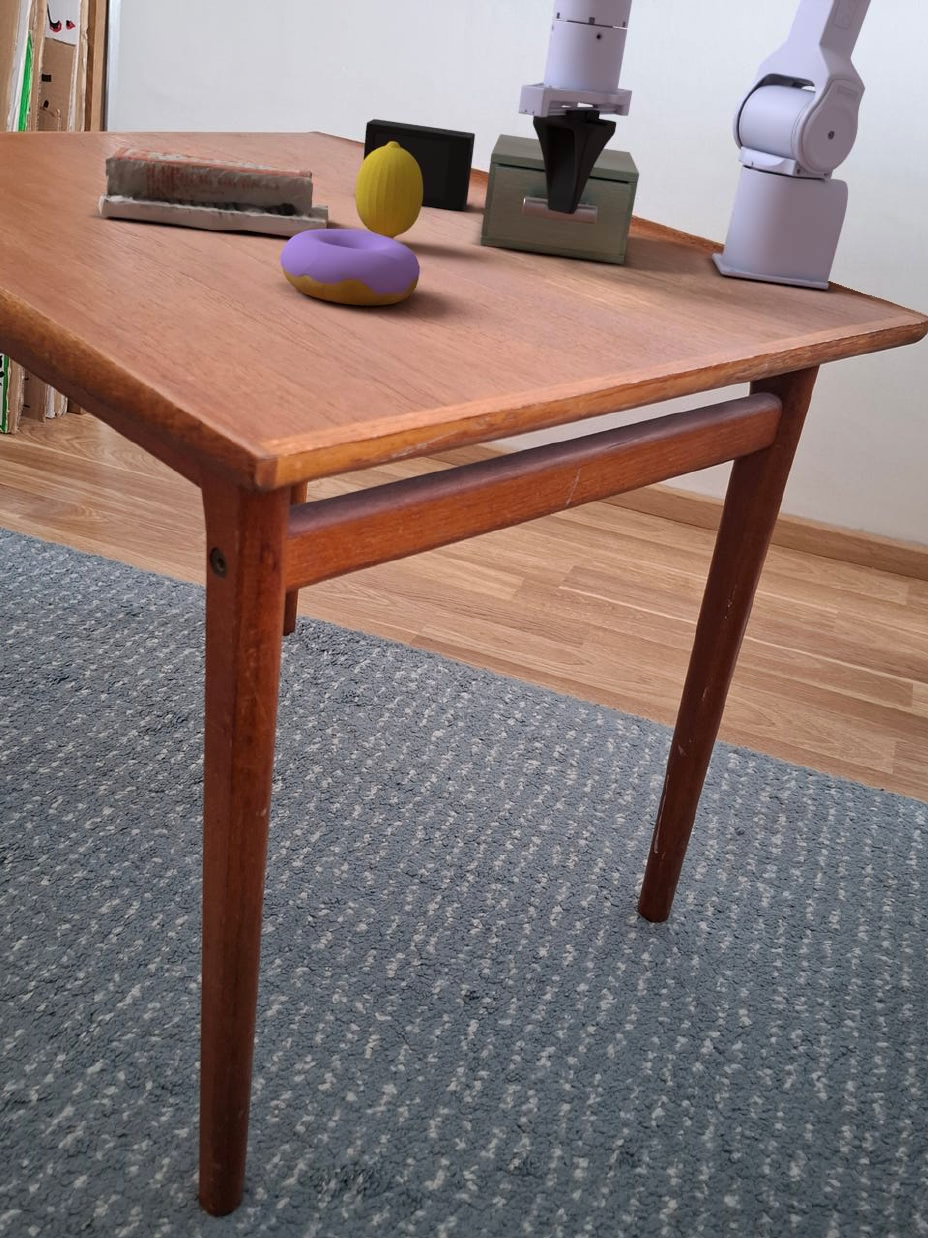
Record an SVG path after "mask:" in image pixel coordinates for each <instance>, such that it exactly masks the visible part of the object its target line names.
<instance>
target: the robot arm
mask: <svg viewBox="0 0 928 1238" xmlns="http://www.w3.org/2000/svg"><path fill="white" fill-rule="evenodd" d="M871 2H872V0H799V3H798V6H797V10H796V12H795V15H794V18H793V21H792V24H791V27H790V30H789V32H788V33H789V34H788V36H787V38H786V41H785V42H784V43H782V44H781V45H780V46H779V47H778V48H776V49H775V50H774V51H773V52H771V53H770V54H769V55H768V56H766V57H765V58H764V59H763V60H762V61H761V62H760V63H759V65H758V68H757V72H756V74H755V77H754V79H753V81H752V83H751V84H750V85H749V87H748V88H747V90H746V91H745V92H744V94H743V95H742V96H741V97H740V100H739V101H738V103H737V105H736V107H735V110H734V113H733V119H732V135H733V136H732V137H733V139H734V142H735V145H736V146H737V148H738V149H739V155H738V162H741V163H742V164H743V165H741V169H740V173H739V178H738V182H737V186H736V192H735V196H734V200H733V205H732V209H731V215H730V218H729V223H728V228H727V233H726V238H725V242H724V246H723V251H722V253H715V252H714V253H712V255H711V258H712V261H713V262H714V264H715V265H716V267H717V270H718V271H719V273H720V274H721V275H724V276H730V277H736V278H743V279H751V280H758V281H765V282H771V283H772V282H773V283H779V284H788V285H793V286H801V287H808V288H814V289H821V290H828V289H829V286H830V284H829V279H830V274H831V272H832V267H833V263H834V260H835V255H836V253H837V252H836V251H837V248H838V244H839V241H840V236H841V232H842V228H843V225H844V221H845V218H846V214H847V206H848V198H849V186H848V184H847V182H846V181H844V180H843V179H838V178H832V176H833V173H834V171H835V170H836V169H838V167H840V165H842V164H843V163H844V162H845V160H847V158H848V156H849V154H850V153H851V151H852V150H853V148H854V145H855V142H856V139H857V135H858V129H859V111H860V105H861V102H862V99H863V96H864V93H865V90H866V86H865V83H864V81H863V79H862V78H861V75H860V74H859V73H858V71H857V69H856V68H855V65H854V63H853V61H852V56H853V52H854V50H855V46H856V44H857V41H858V39H859V36H860V33H861V30H862V27H863V24H864V21H865V19H866V17H867V13H868V10H869V8H870V5H871ZM632 4H633V0H554V3H553V11H552V19H551V26H550V34H549V40H548V48H547V57H546V62H545V69H544V76H543V81H542V82H538V83H533V84H522V85H521V88H520V96H519V102H518V103H519V105H518V114H521V115H529V116H533V118H532V126H533V128H534V131H535V133H536V136H537V139H539V142H540V146H541V150H542V154H543V159H544V166H545V175H546V187H547V200H548V209H549V210H552V211H556V212H561V213H565V214H574V212H575V210H576V208H577V206H578V203H579V201H580V198H581V196H582V193H583V191H584V188H585V185H586V183H587V180H588V178H589V175H590V173H591V171H592V169H593V167H594V164H595V162H596V161H597V159H598V157H599V155H600V154H601V152H602V150H603V149H605V147H606V146H607V144H608V143H609V141H610V140H611V139H612V137H614V135H615V134H616V129H617V121H614V120H609V119H604V118H600V115H602V116H603V115H616V116H621V117H628V116H629V112H630V106H631V100H632V96H633V90H631V89H625V88H620V87H619V84H620V77H621V73H622V72H621V71H622V65H623V59H624V52H625V47H626V40H627V34H628V28H629V22H630V16H631V9H632ZM806 87H813V88H815V89H814V90H812V89H806ZM579 104H583V105H589V106H579Z"/></svg>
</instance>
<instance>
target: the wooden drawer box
mask: <svg viewBox="0 0 928 1238" xmlns="http://www.w3.org/2000/svg"><path fill="white" fill-rule="evenodd" d="M489 161H490V163H489V169H488V177H487V186H486V194H485V200H484V201H485V202H484V208H483V209H484V210H483V218H482V225H481V234H480V242H479V244H480V245H481V246H487V247H494V248H502V249H509V250H515V251H523V252H531V253H536V254H544V255H552V256H557V257H566V258H573V259H579V260H580V259H581V260H586V261H593V262H594V261H595V262H601V263H609V264H615V265H624V261H625V254H626V250H627V245H628V239H629V234H630V227H631V223H632V218H633V211H634V206H635V201H636V195H637V189H638V183H639V179H640V172H639V169H638V167H637V165H636V163H635V161H634V158H633V156H632V154H631V152H629V151H623V150H616V149H609V148H604V149H603V150H602V152H601V154H600V155H599V157H598V159H597V161H596V162H595V164H594V167H593V169H592V171H591V173H590V175H589V176H590V177H597V178H605V179H612V180H619V181H621V182H622V183H629V184H630V185H631V189H630V195H629V201H628V206H627V212H626V217H625V223H624V229H623V234H622V240H621V245H620V251H619V255H618V256H616V255H609V254H602V253H595V252H588V251H580V250H573V249H566V248H559V247H552V246H545V245H538V244H531V243H524V242H516V241H509V240H502V239H495V238H488V229H489V221H490V213H491V205H492V197H493V190H494V182H495V174H496V167H497V165H501V166H506V165H512V166H519V167H526V168H533V169H540V170H545V166H544V159H543V154H542V150H541V146H540V142H539V139H538V138H530V137H524V136H517V135H510V134H502V133H500V134H499V136H498V138H497V140H496V143H495V145H494V147H493V149H492V152H491V153H490V160H489Z"/></svg>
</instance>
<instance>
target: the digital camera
mask: <svg viewBox="0 0 928 1238" xmlns="http://www.w3.org/2000/svg"><path fill="white" fill-rule="evenodd" d="M364 135H365V137H364V147H363V161H364V160H365V159H366V157H367V156H368V155H369V154H370V153H372V152H373V151H374V150H376V149H378V148H380V147H383V146H386V145H387V144H388V143H389V142H397V143H398V144H399V146H400V147H401V148H402V149H404V150H406V151H407V152H408V153H410V154H411V155H412V156H413V158H414V159H415V160H416V162H417V163H418V165H419V168H420V171H421V175H422V181H423V199H422V205H421V206H426V207H433V208H440V209H446V210H454V211H460V212H463V211H464V210H465V208H466V207H467V205H468V199H469V198H468V197H469V190H470V189H469V188H470V183H471V182H470V181H471V172H472V165H473V156H474V149H475V141H476V140H475V139H476V133H474V132H468V131H461V130H456V129H455V130H453V129H447V128H440V127H433V126H426V125H420V124H412V123H405V122H398V121H390V120H384V119H376V118H373V119H371V120H369V121H366V125H365V134H364Z"/></svg>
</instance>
